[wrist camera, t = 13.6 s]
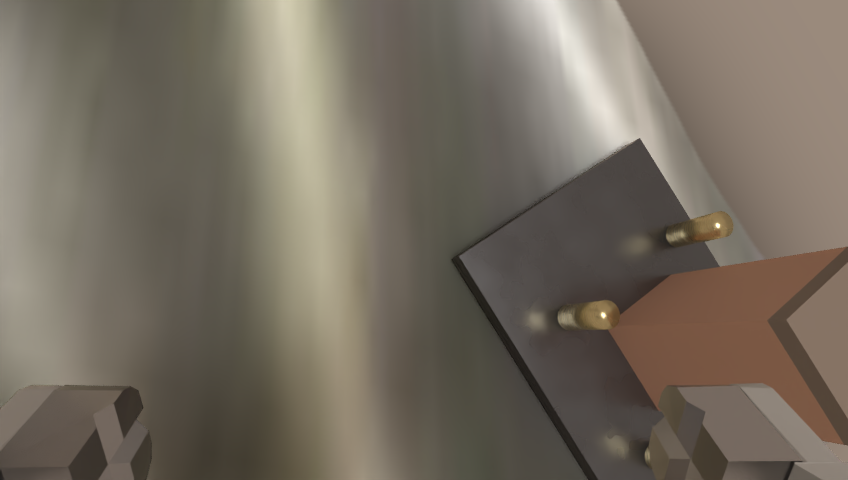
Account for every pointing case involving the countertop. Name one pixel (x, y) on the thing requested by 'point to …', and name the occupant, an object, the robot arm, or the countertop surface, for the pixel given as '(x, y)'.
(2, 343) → the countertop surface
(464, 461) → the countertop surface
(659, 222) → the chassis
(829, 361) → the block
